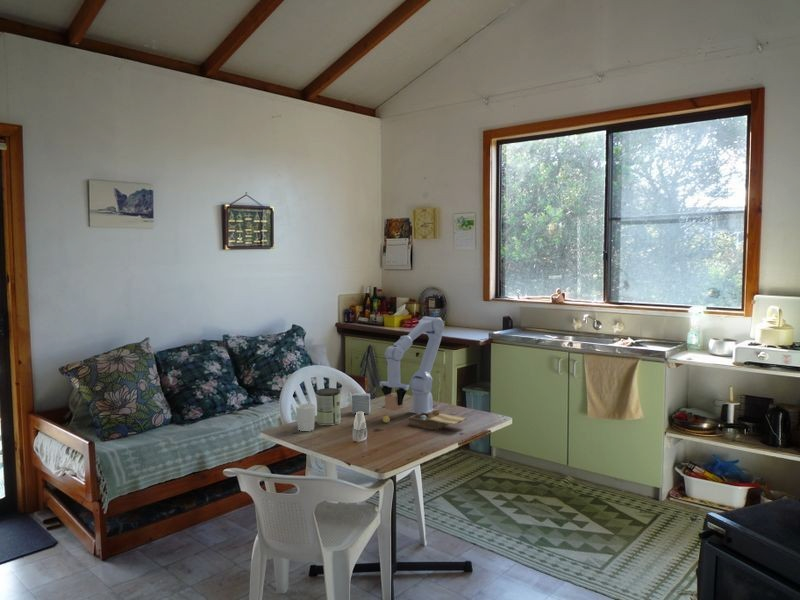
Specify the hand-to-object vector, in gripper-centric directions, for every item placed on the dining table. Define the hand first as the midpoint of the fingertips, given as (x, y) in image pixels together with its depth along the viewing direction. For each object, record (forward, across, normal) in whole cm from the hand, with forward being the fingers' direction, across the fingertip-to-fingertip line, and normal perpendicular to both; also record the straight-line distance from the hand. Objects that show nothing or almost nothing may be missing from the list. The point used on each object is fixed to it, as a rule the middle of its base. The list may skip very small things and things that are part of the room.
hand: (394, 404), depth 273 cm
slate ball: (+6, +14, +2) cm, 16 cm away
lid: (+3, +27, 0) cm, 27 cm away
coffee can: (+7, -20, -21) cm, 30 cm away
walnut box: (+6, +18, 0) cm, 19 cm away
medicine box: (+7, -18, -1) cm, 19 cm away
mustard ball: (+6, +1, -8) cm, 10 cm away
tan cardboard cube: (+2, 0, 0) cm, 2 cm away
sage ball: (+6, +17, -2) cm, 18 cm away
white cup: (+7, -21, -34) cm, 41 cm away
